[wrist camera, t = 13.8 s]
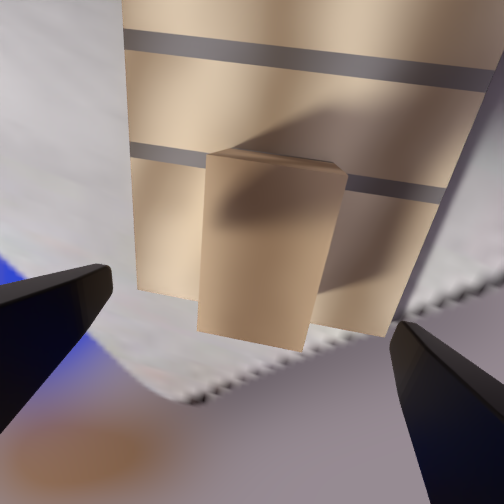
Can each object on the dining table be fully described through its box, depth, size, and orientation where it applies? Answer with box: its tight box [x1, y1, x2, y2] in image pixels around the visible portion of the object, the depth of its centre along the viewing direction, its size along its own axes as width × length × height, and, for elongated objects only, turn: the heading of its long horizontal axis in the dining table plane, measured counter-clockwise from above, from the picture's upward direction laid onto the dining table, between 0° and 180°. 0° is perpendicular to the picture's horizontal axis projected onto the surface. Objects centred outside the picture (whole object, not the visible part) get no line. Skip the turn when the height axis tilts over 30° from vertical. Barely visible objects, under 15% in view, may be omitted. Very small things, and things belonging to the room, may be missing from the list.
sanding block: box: [197, 147, 348, 352], centre depth 13 cm, size 5×8×4 cm, turn 173°
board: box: [122, 0, 504, 337], centre depth 14 cm, size 16×22×1 cm
